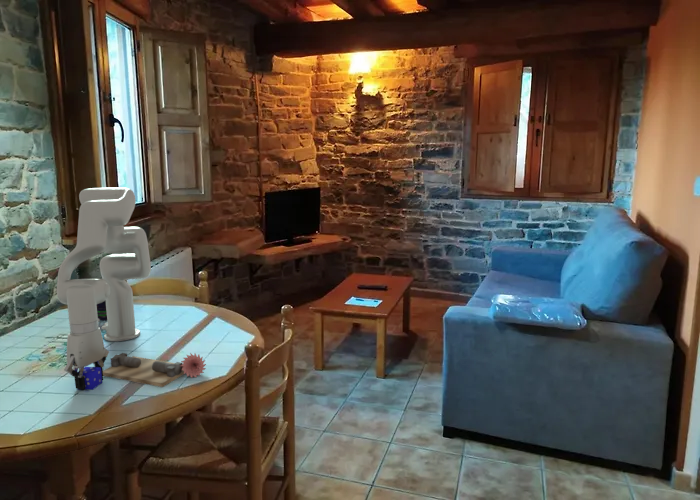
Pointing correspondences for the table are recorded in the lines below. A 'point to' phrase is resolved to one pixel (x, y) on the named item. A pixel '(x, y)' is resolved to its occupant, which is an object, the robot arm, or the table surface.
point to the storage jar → (102, 311)
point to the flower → (193, 365)
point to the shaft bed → (143, 370)
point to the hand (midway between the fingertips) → (89, 383)
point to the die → (92, 377)
